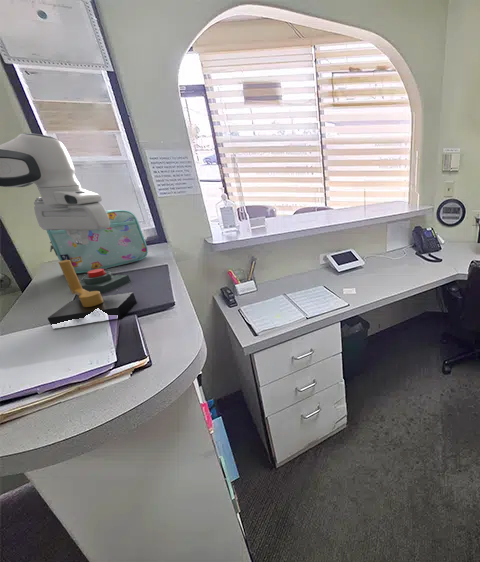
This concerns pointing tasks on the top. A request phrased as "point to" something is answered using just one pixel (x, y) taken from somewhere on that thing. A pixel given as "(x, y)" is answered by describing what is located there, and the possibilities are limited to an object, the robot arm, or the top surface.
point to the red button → (96, 273)
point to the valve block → (110, 305)
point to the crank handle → (79, 286)
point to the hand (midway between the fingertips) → (82, 244)
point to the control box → (103, 282)
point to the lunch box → (103, 244)
